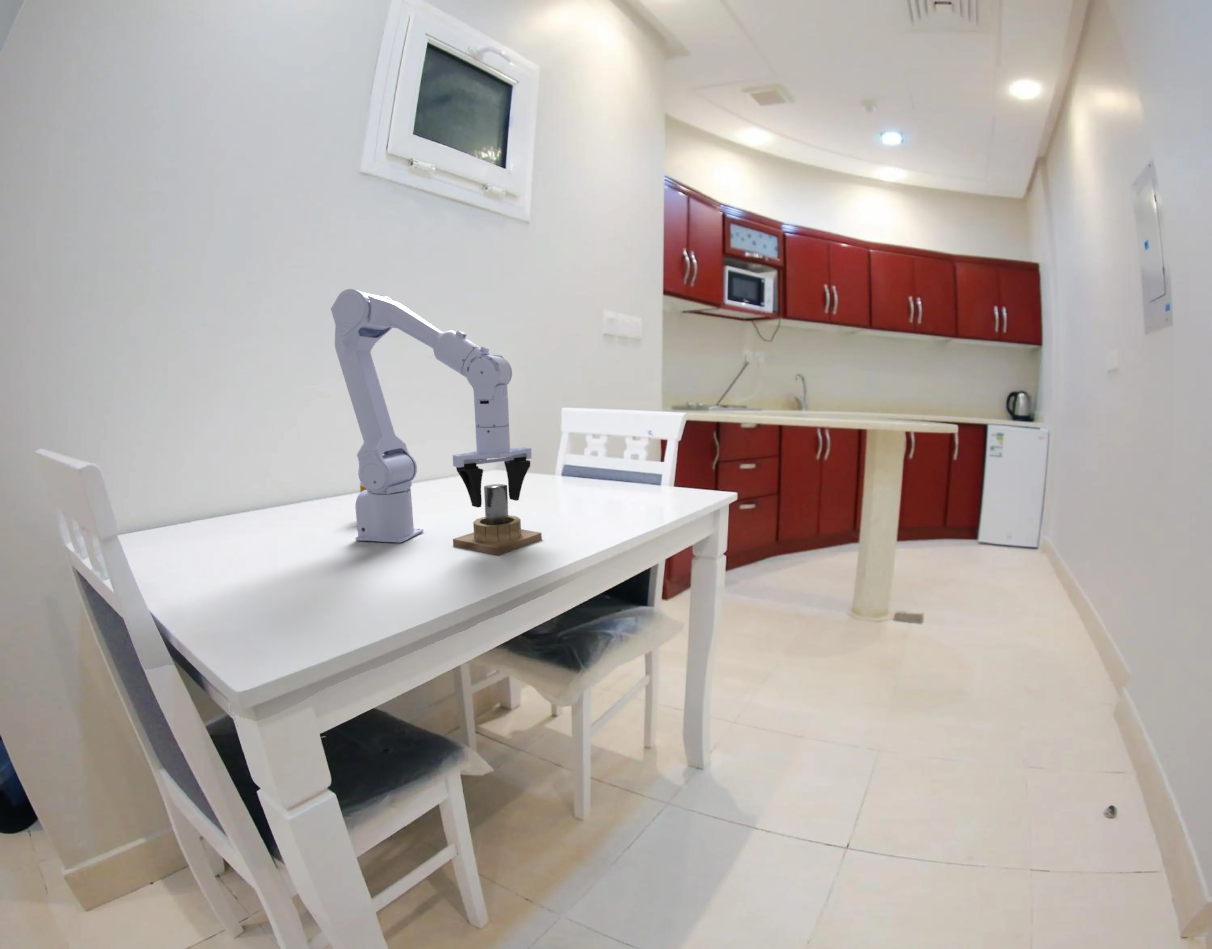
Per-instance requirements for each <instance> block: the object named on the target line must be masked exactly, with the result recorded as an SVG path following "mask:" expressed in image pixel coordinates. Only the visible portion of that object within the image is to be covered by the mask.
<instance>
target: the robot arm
mask: <svg viewBox="0 0 1212 949" xmlns="http://www.w3.org/2000/svg"><path fill="white" fill-rule="evenodd" d="M330 311H331V315H332V318H333V320H334V325H335V326H334V327H335V330H334V331H335V332H334V348H335V352H336V355H337V359H338V362H339V365H340V368H341V372H342V375H343V379H344V381H345V385H346V388H347V391H348V395H349V398H350V401H351V404H352V408H353V410H354V414H355V417H356V420H357V424H358V427H359V430H360V434H361V437H362V440H363V444H362V445H361V446H360V449H359V450H358V452H357V454H356V456H357V459H358V460H357V461H358V479H359V482H361V483H362V485H363V486H364V487H365V488H366V489H367V490H364V491H362V492H361V491H360V493H359V494H358V495H357V497H356V501H355V515H356V516H355V518H356V526H357V528H356V529H357V537H355V541H365V542H380V543H402V542H405V541H407V540H409V539H411V538H413V537H415V536H417V535H420V534H422V533H423V532H424V529H423V528H414V527H415V526H414V525H415V524H414V516H413V515H414V514H413V513H414V512H413V502H412V500H413V499H412V489H411V487H412V486H413V485H412V481H413V480H414V479H415V478H416V475H417V473H418V466H417V462H416V460H415V458H414V457H413V455H411V453H410V452H409V450H408V448H407V444H406V442H404V441H403V440H402V439H401V438H399V437H398V435H396V433H395V430H394V427H393V423H392V421H391V417H390V414H389V411H388V410H389V409H388V407H387V404H386V399H385V397H384V394H383V390H382V386H381V383H380V380H379V377H378V373H377V371H376V367H375V364H374V360H373V357H372V354H371V352H372V349H373V348H374V346H375V345H376V344H377V343H378V342H379V341H380V340H381V339H382V338H383V337H385V335H386V334H388V333H389V332H390V331H391V330H392V329H397V330H400V331H401V332H403V333H405V334H406V335H408V336H410V337H412V338H414V339H416V340H417V341H419V342H421V343H423V344H424V345H426V346H428V347H430V348H432V350H433V354H434V357H435V359H436V360H438V361H439V362H440V363H442V364H444V365H445V366H447V367H448V368H450V369H452V370H453V371H455V372H457V373H458V374H460V375H461V376H463V377H464V378H466V381H468V384H469V385H470V386H471V387H472V389H473V402H474V404H473V405H474V420H475V421H474V423H475V444H476V445H475V446H476V451H470V452H464V453H457V454H452V466H453V467H455V468H456V472H457V473H458V474H459V476H460V478H461V480H462V481H463V483H464V485H465V488H466V490H467V493H468V497H469V499H470V504H471V506H472V507H474V508H481V507H482V504H483V503H482V501H483V498H482V480H483V474H484V469H483V468H480V467H479V466H477V465H483V464H484V465H485V464H492V463H500V462H501V463H502V462H503V463H504V467H505V470H506V476H507V482H508V485H507V490H508V496H509V497H508V498H509V500H512V501H514V502H515V501H519V499H520V497H521V496H520V495H521V491H522V486H523V484H524V480H525V477H526V475H527V473H528V471H529V470H530V467H531V461H530V460H529V459H532V448H531V447H526V446H525V447H524V446H523V447H512V448H511V444H510V443H511V440H510V418H509V416H510V415H509V396H508V395H509V394H508V384H509V385H510V382H511V381H512V376H513V370H512V367H511V364H510V362H509V361H508V360H506V359H505V358H504V356H503V355H501V354H500V355H499V354H492V355H490V352H489V351H490V348H488V347H486V346H483V345H482V346H480V345H478V344H476V343H474V342H473V341H471V340H469V338H467V334H468V333H465V332H463V331H462V330H457V331H455V330H452V329H451V330H446V331H442V330H441V329H438V328H437V327H435V326H434V325H433V324H431V323H430V322H428V321H427V320H426V319H424V318H422V317H421V316H420V315H418V314H417V313H415V312H413V311H412V310H411V309H409V308H408V307H406V306H405V305H403V304H402V303H400V302H398V301H394V300H392V299H391V298H390V297H389V296H384V295H377V294H373V293H368V292H363V291H360V290H358V289H355V288H354V289H353V288H347V289H344V290H343V291H341V292H340V293H339V294H338V295H337V297H336V299H335V300H334V302H333V304H332V307H330Z"/></svg>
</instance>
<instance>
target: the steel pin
mask: <svg viewBox="0 0 1212 949" xmlns="http://www.w3.org/2000/svg"><path fill="white" fill-rule="evenodd" d="M483 493H484V494H483V495H484V512H485V513H484V517H485V518H486V525H501V524H507V523H509V520H508V515H509V501H508V500H509V499H508V498H509V497H508V496H509V495H508V485H507V484H503V483H502V484H500V483H499V484H498V483H497V484H487V485H484V486H483Z"/></svg>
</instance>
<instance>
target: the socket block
mask: <svg viewBox="0 0 1212 949" xmlns="http://www.w3.org/2000/svg"><path fill="white" fill-rule="evenodd" d="M508 520H509V523H507V524H501V525H486V518H485V516H483V517H480V518H476V519H475V520H474V521H473V522H472V524H473V532H470V533H468V534H464V535H462V536H458V537H455V538H453V539H452V546H454V547H458V548H462V549H463V548H464V549H467V550H473V551H476V552H481V553H486V554H491V555H497V556H501V555H504V554H506V553H509V552H512V551H514V550H517V549H519V548H522V547H525V546H528V545H530V544H533V543H535V542H538V541H540V540H542V538H543V536H542V532H539V531H532V530H528V529H527V530H526V529H522V525H521V524H522V523H521V518H520V517H518V516H515V515H509V514H508Z"/></svg>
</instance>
